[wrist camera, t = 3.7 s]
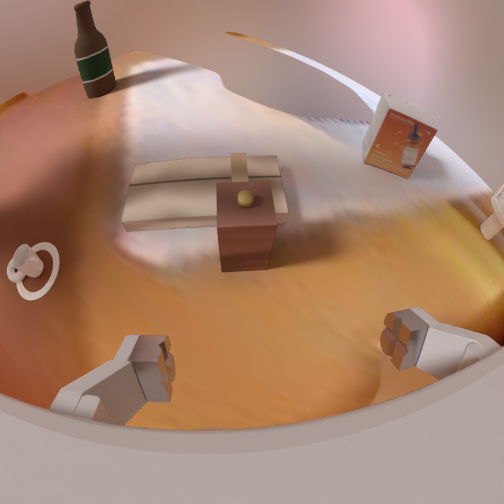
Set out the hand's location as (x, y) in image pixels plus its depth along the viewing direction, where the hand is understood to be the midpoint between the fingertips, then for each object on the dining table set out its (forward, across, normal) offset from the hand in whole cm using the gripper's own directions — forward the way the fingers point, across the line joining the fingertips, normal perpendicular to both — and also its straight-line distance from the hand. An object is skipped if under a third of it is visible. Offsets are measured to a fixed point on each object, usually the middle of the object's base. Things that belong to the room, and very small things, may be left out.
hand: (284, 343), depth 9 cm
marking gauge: (+22, 0, 0) cm, 22 cm away
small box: (+30, -23, -8) cm, 39 cm away
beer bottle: (+50, +30, -29) cm, 65 cm away
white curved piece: (+21, +28, +1) cm, 35 cm away
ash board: (+25, +4, -3) cm, 25 cm away
